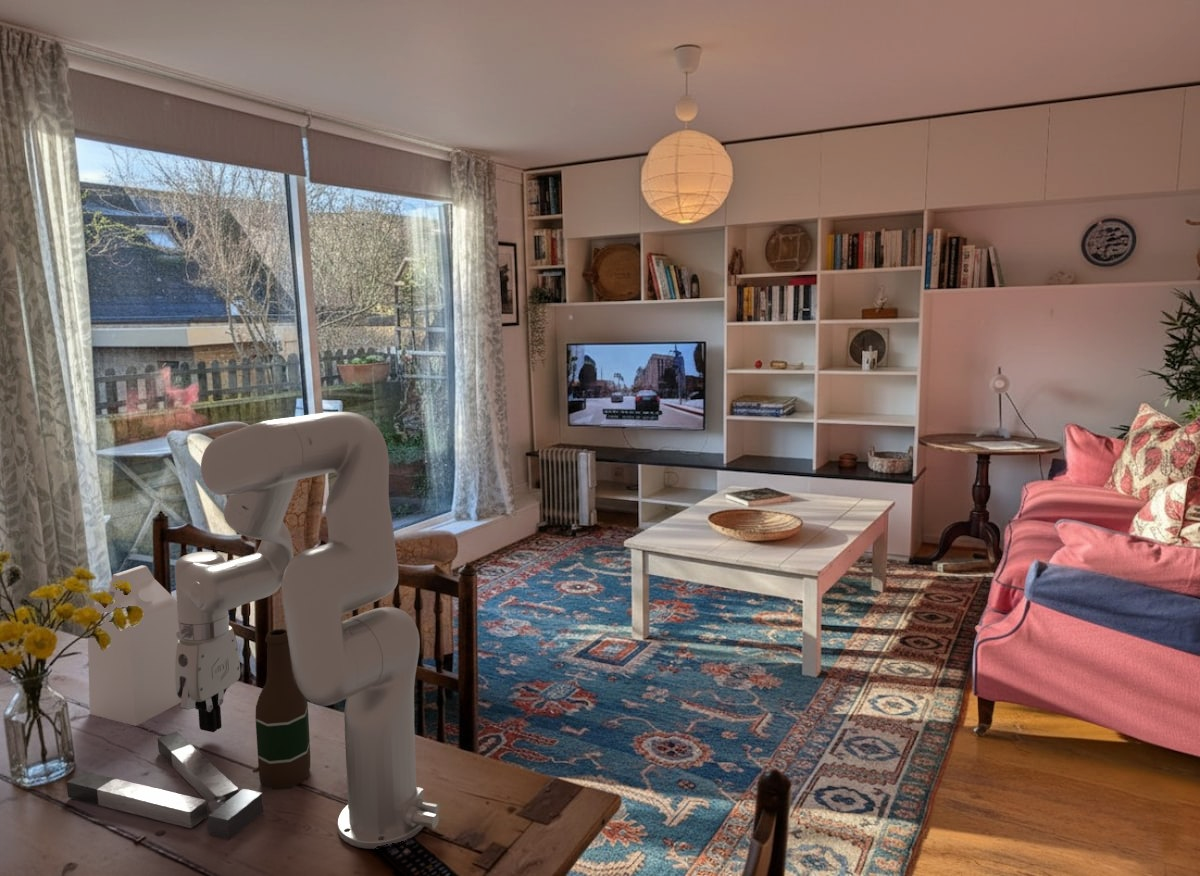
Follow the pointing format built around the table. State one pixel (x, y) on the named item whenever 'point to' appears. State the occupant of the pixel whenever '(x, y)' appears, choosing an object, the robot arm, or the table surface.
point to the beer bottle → (281, 720)
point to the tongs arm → (197, 770)
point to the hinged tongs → (167, 803)
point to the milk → (136, 654)
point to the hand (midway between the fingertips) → (210, 728)
